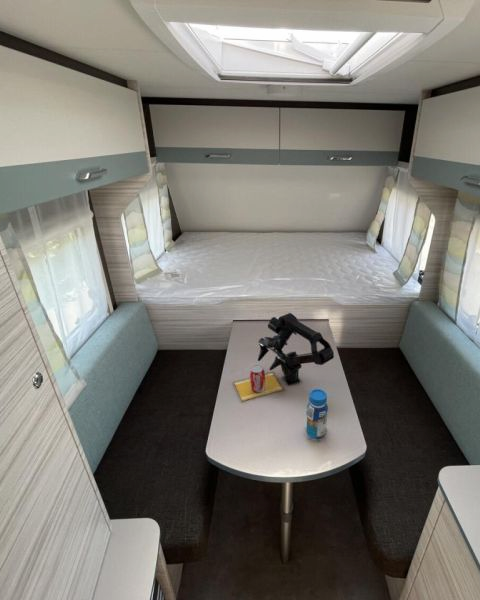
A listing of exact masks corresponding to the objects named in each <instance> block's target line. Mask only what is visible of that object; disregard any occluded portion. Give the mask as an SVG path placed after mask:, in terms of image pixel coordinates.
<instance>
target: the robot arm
mask: <svg viewBox="0 0 480 600" xmlns="http://www.w3.org/2000/svg"><path fill="white" fill-rule="evenodd" d="M267 329H269V330H270V331H272V332H273V333H275V334H276V335H274V336H272V337H271V336H264V338H263V337H261V338H260V339H259V340H258V341H257V342H258V343H259V344H258V345H259V353H258V356H257V361H258V362H260V361H262V359H263V358H264V357H265V356H266V355H267V354H268V352H269V351H270V350H271V352H273V353H275V354H276V355H275V356H274V357H275V358H274V360H273V362H272V364H271V365H270V367H269V369H268V370H269V371H273V370H275V369H276V368H277V367H279V366H280V367H281V371H282V373H283V376H282V379H283V381H284V382H285V383H286V384H287V385H288V386H291V385H294V384H297V383H300V382H301V380H300V379H299V374H300V373H299V372H300V371H299V370H300V369H302V365H305V364H311V363H314V364H315V365H318V366H323V365H325V364H326V363H328V362H329V361H331V360H333V359H334V358H335V353H334V350H333V348H332V346H331V344H330V343H329V342H328V341H327V340H326V339H325V338H324V336H323V335H322V333H320V332H319V331H318V332H317V331H315V330H314V329H312V328H311V327H309V326H307V325H305V324H304V323H302V322H300V321H299V320H298V318H297V316H295V315H294V314H293V313H291V312H288V313H286V314H283V315H281V316H279V317H278V318H277V317H275V316H273V317H271V319H270V320H269V322H268V323H267ZM293 334H294V335H295V336H297V335H299V336H300V337H302V338H304V339H305V340H307V341H308V342H309V343H310V352H307V353H300V354H297V352H296V350H295V351H290V352H288V353H285V352H283V349H284V347H285V346H288V341H289V340H290V338H291V337H292V335H293ZM318 343H319V344H320V345H322V346H323V348H321V349H319V350H318Z"/></svg>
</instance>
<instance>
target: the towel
mask: <svg viewBox="0 0 480 600" xmlns="http://www.w3.org/2000/svg"><path fill="white" fill-rule="evenodd" d="M233 384H234V386H235V388H236V391H237V392H238V395H239V397H240V400H241V401H242V402H245V401H249V400H253V399H255V398H259V397H262V396H266V395H269V394H273V393H277V392H279V391H283V387H282V385H281V384H280V383H279V381H278V380H277V378H276V376H275V374H273V372H269V373H265V390H264V391H262V392H260V393H255V392H253V391H252V390H251V385H250V378H247V379H243V380H239V381H235V382H234V383H233Z"/></svg>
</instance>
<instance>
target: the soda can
mask: <svg viewBox="0 0 480 600" xmlns="http://www.w3.org/2000/svg"><path fill="white" fill-rule="evenodd" d="M265 374H266V371H265V368H264V367H263V366H262V365H261V364H255V365H252V366H251V367H250V370H249V379H250V385H251V390H252V391H253V392H255V393H260V392H262V391H264V390H265Z"/></svg>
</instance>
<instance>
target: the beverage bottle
mask: <svg viewBox="0 0 480 600" xmlns="http://www.w3.org/2000/svg"><path fill="white" fill-rule="evenodd" d="M308 401H309V402H308V403H307V405H306V429H305V434H306V436H307V437H308V438H309V439H311V440H313V441H321V440H324V439H325V438H326V435H327V425H328V424H327V423H328V417H329V406H328V404H327V401H328V393H327V392H326V391H325V390H324V389H321V388H315V389H312V390H310V392H309V395H308Z"/></svg>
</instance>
